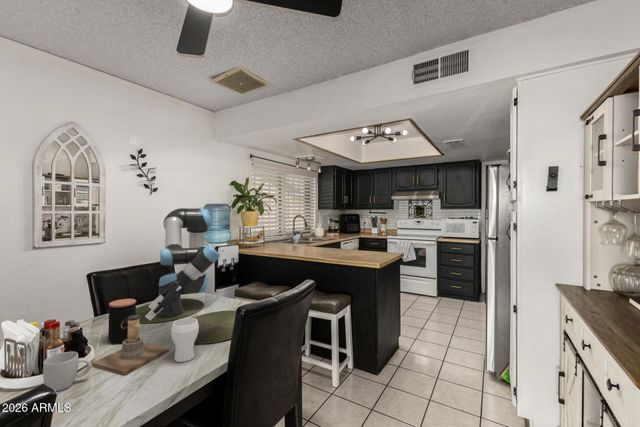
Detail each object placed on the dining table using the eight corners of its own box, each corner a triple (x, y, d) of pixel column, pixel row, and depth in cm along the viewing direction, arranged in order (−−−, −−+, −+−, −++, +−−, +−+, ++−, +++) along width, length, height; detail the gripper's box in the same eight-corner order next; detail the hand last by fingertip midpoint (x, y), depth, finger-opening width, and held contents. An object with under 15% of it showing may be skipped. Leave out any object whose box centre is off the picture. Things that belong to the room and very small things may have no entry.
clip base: (138, 344, 131) (139, 328, 131) (169, 351, 125) (169, 334, 125) (91, 366, 112) (92, 347, 112) (125, 375, 106) (125, 355, 107)
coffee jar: (121, 346, 130) (122, 306, 130) (102, 343, 132) (103, 304, 132) (140, 336, 140) (141, 299, 140) (122, 334, 142) (123, 297, 142)
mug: (39, 398, 93) (40, 367, 93) (45, 384, 100) (46, 355, 100) (90, 385, 100) (90, 356, 100) (91, 373, 108) (92, 346, 108)
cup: (171, 354, 123) (172, 319, 123) (198, 349, 128) (198, 316, 128) (169, 366, 114) (170, 328, 114) (198, 361, 118) (199, 324, 118)
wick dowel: (133, 352, 121) (134, 314, 122) (140, 353, 120) (141, 315, 120) (124, 356, 118) (125, 317, 118) (131, 358, 116) (132, 318, 116)
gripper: (196, 287, 118) (153, 329, 111) (194, 275, 141) (158, 309, 134) (182, 275, 116) (138, 317, 109) (182, 264, 138) (145, 299, 132)
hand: (149, 313), depth 121 cm, fingers open, 13 cm apart
